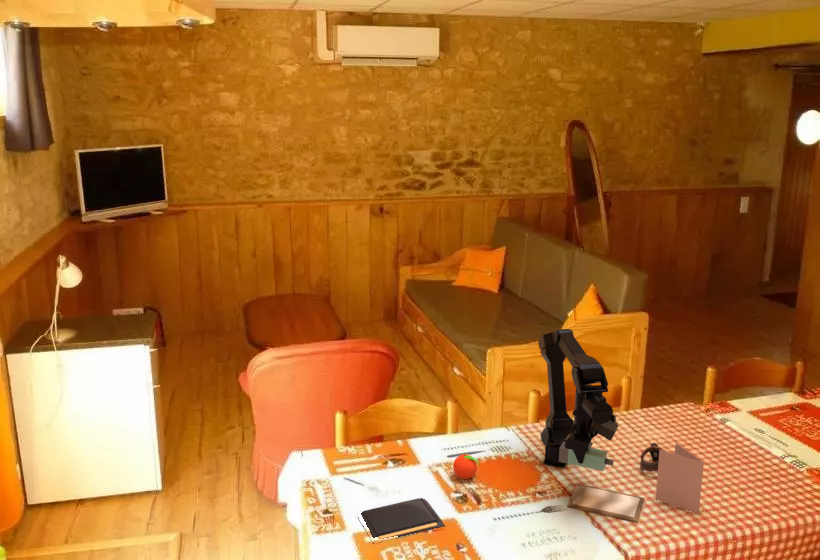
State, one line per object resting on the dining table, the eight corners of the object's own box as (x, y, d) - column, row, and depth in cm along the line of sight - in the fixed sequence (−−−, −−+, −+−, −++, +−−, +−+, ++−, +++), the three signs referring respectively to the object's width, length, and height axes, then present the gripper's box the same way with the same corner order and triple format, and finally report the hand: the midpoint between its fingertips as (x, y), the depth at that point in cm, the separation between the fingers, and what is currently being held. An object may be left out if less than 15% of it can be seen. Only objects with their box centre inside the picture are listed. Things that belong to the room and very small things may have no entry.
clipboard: (567, 506, 191) (567, 502, 190) (577, 485, 201) (577, 481, 201) (637, 522, 183) (637, 518, 183) (644, 499, 194) (644, 495, 193)
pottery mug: (681, 479, 205) (672, 460, 201) (650, 490, 207) (640, 471, 204) (670, 450, 215) (661, 431, 212) (640, 461, 218) (630, 442, 214)
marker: (558, 461, 195) (559, 448, 194) (562, 454, 198) (563, 441, 197) (610, 473, 189) (611, 459, 188) (613, 465, 192) (615, 452, 191)
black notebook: (424, 493, 196) (446, 523, 182) (424, 499, 196) (446, 529, 183) (354, 508, 189) (371, 539, 175) (354, 514, 190) (371, 546, 176)
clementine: (483, 475, 208) (484, 452, 206) (475, 486, 201) (476, 463, 200) (458, 469, 211) (458, 447, 209) (449, 480, 205) (449, 458, 203)
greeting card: (701, 513, 187) (706, 461, 183) (677, 518, 185) (681, 466, 181) (674, 491, 197) (678, 442, 194) (650, 496, 195) (654, 446, 192)
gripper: (609, 427, 178) (605, 483, 182) (623, 398, 194) (619, 450, 198) (565, 418, 183) (562, 473, 187) (582, 391, 199) (579, 442, 203)
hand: (582, 459), depth 194 cm, fingers closed on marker, 4 cm apart
